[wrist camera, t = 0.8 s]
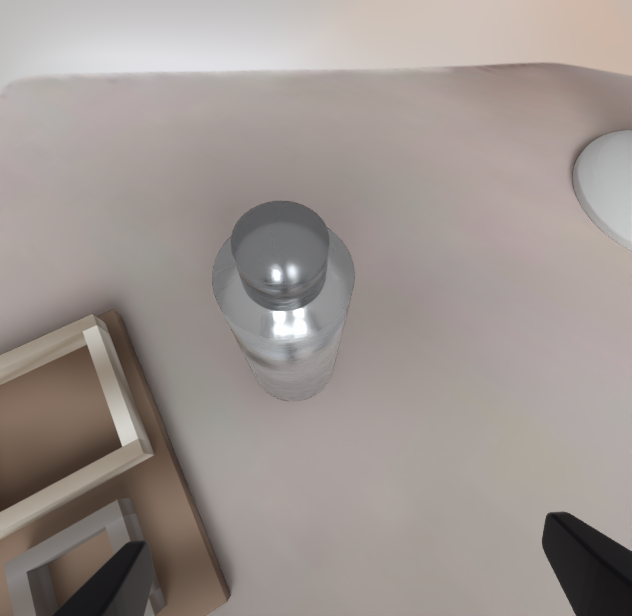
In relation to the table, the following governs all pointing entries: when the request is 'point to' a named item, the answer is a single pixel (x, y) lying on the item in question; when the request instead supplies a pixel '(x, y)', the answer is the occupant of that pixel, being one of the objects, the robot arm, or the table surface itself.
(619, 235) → the candlestick
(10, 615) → the socket board
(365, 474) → the table surface
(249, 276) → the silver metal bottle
